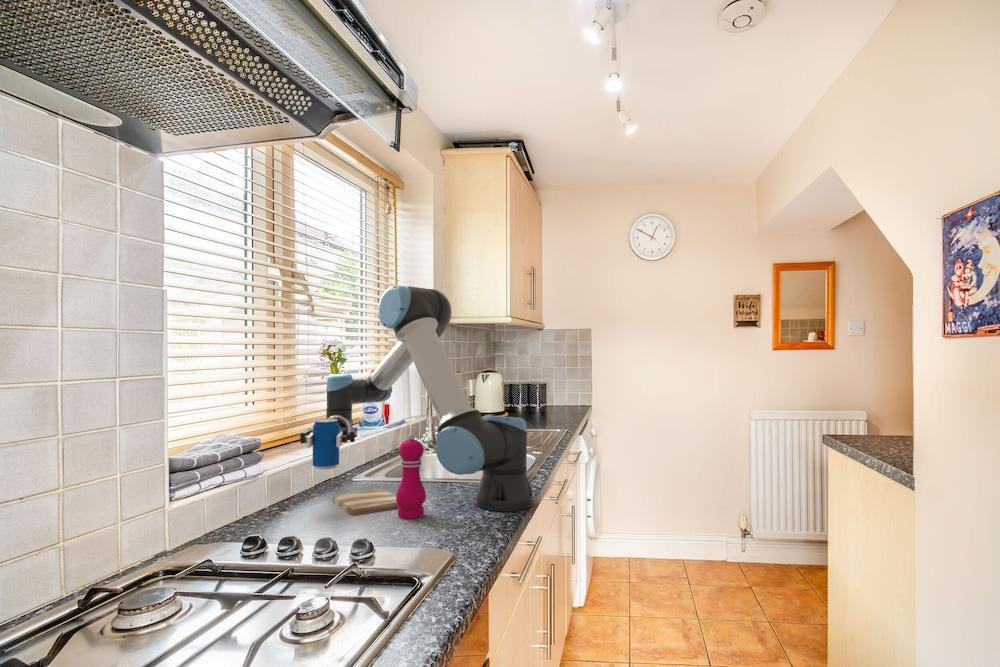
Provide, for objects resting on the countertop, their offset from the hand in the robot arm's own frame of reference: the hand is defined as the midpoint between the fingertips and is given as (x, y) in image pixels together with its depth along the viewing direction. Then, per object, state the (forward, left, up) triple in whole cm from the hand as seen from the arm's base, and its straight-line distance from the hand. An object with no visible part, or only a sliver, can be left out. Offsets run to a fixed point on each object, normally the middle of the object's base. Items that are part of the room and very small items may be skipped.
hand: (323, 442), depth 138 cm
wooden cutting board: (+3, -13, -18) cm, 22 cm away
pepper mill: (-13, -18, -18) cm, 28 cm away
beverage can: (+5, -2, -7) cm, 9 cm away
